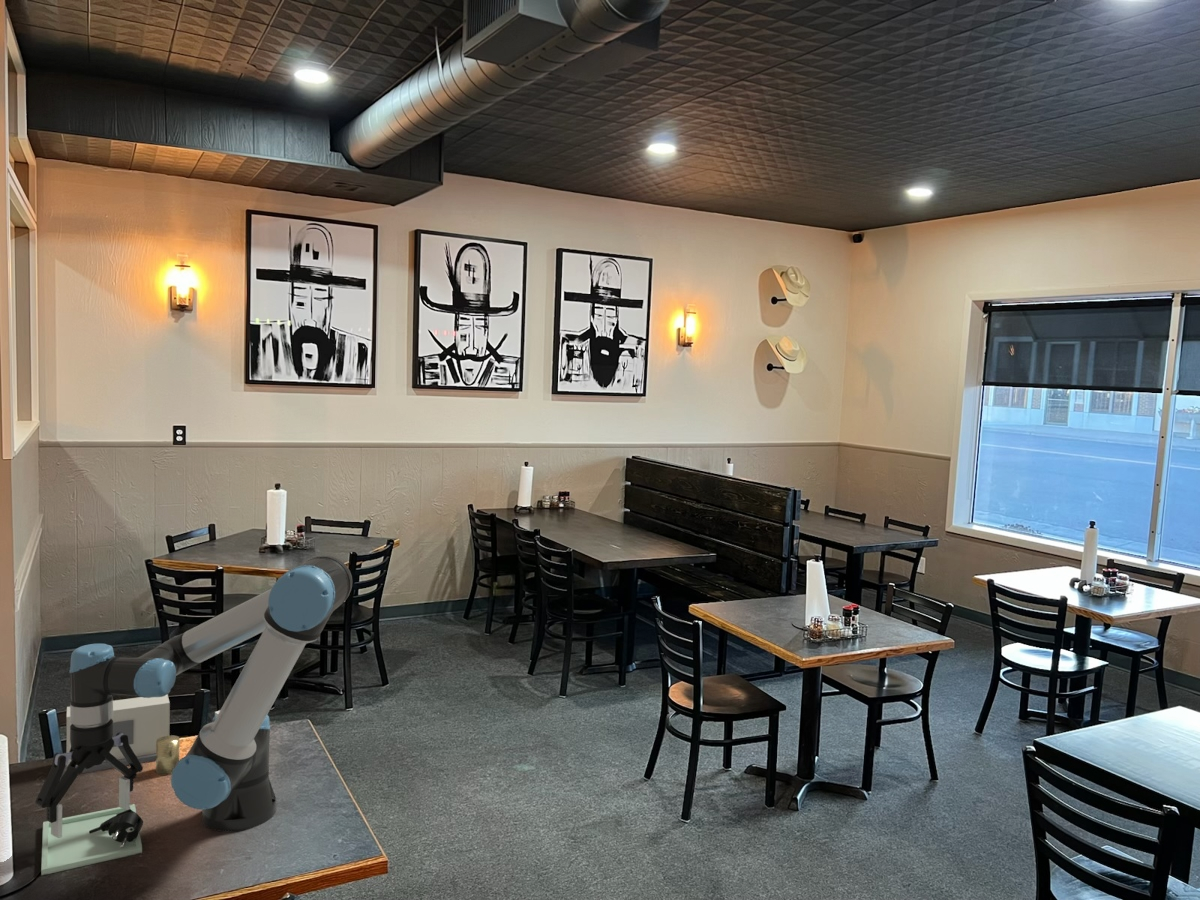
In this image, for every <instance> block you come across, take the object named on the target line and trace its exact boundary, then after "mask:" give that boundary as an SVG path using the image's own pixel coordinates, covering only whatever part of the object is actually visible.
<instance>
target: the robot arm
mask: <svg viewBox="0 0 1200 900" xmlns="http://www.w3.org/2000/svg"><path fill="white" fill-rule="evenodd" d="M275 581H276V582H275V583H274V584H273V586H272V587H271V588H270V589H268V590H266V591H264V592H262V593H260V594H258V595H256V596H254V597H252V598H250V599H248V600H246V601H244V602H242V603H240V604H238V605H236V606H234V607H232V608H230V609H228V610H225V611H224V612H222V613H220V614H218V615H216V616H214V617H212V618H210V619H208V620H206V621H204V622H202V623H200V624H199V625H197V626H194V627H192V628H190V629H188V630H186V631H185V632H183V633H180V634H178V635H175V636H172V637H171V638H169V639H166V640H165V641H164V642H163V643H161V644H159V645H158V646H156V647H154V648H152V649H150V650H149V651H147V652H145V653H144V654H142V655H140V656H138V657H121V656H115V652H114V648H113V646H112V645H110V644H106V643H90V644H89V643H88V644H85V645H81V646H79V647H77V648H75V649H74V650H73V651H72V653H71V655H70V667H69V668H70V669H69V672H68V673H69V679H70V681H69V682H70V684H69V685H70V700H69V701H70V703H69V707H70V722H71V723H72V725H71V726H70V743H71V749H70V751H69V753H67V752H64V753H59V752H56V753H54V754H53V755H52V765H51V767H50V770H49V771H48V774H47V776H46V778H45V780H44V783H43V784H42V787H41V789H40V791H39V793H38V795H37V797H36V799H35V805H36V806H39V807H40V808H42V809H45V808H46V821H49V822H50V823H51V834H52V835H53V836H55V837H57V838H60V837H62V818H63V804H61V803H60V802H61V801H62V799H63V798H64V796H65V795H66V793H67V792H68V790H69V789H70V787H71V786H72V785H73V783H74V782H75V781H76V778H78V776H79V775H81V774H83V773H82V771H83V770H84V769H89V768H91V767H93V766H94V765H100V764H102V762H103V761H104V760H105V761H106V762H108V763H109V764H110V765H112V766H113V767H114V768H113V769H115V770H117V771H118V772H119V773H121V774H122V775H121V776H118V807H120V808H122V809H124V810H129V809H130V805H131V804H130V803H131V801H130V800H131V797H130V796H131V792H133V791H134V780H135V779H136V778H137V776H138V775H137V773H141V772H142V771H143V769H144V768H143V767H144V766H143V765H142V763H140V762H139V760H138V759H137V757H136V755H135V754H134V752H133V750H132V749H131V747H130V745H129V742H128V736H127V735H125V734H122V733H120V732H119V733H117V734H116V736H115V737H113V738H112V736H113V720H112V719H111V718H112V717H113V701H114V696H120V697H121V696H122V697H135V698H138V697H143V698H151V697H163V696H165V695H167V694H168V695H169V694H170V692H171V689H172V688H173V687H174V686H175V682H176V679H177V677H176V676H178V675H180V674H182V673H183V672H185V671H187V670H189V669H191V668H193V667H195V666H197V665H199V664H200V663H203V662H204V661H207V660H208V659H211V658H213V657H215V656H217V655H218V654H221V653H223V652H225V651H227V650H229V649H231V648H233V647H236V646H237V645H239V644H241V643H243V642H245V641H247V640H249V639H251V638H253V637H255V636H257V635H259V634H261V635H260V637H259V639H258V641H257V643H256V644H255V646H254V648H253V650H252V651H251V653H250V656H249V657H248V659H247V661H246V662H245V664H244V667H243V668H242V670H241V671H240V674H239V676H238V677H237V679H236V681H235V683H234V685H233V686H232V687H231V690H230V692H229V694H228V696H227V698H226V699H225V701H224V703H223V705H222V707H221V708H220V709H219V710H220V712H219V714H217V715H216V716H215V715H214V716H213V718H212V722H209V723H207V724H205V725H203V726H202V728H201V729H200V731H199V733H198V734H197V736H196V738H195V740H194V742H193V743H192V745H191V747H190V749H189V751H188V752H187V754H186V755H185V756H183V757H182V758H179V761H178V763H177V765H176V766H175V767H174V769H173V771H172V774H170V784H171V788H172V790H173V791H174V795H175V796H176V798H177V799H178V800H179V801H180V802H181V803H182V804H184V805H185V806H187V807H189V808H192V809H196V810H202V813H201V815H202V816H201V817H202V818H201V819H202V823H203V825H204V826H205V827H207V828H208V829H210V830H213V831H218V832H238V831H245V830H249V829H252V828H256V827H258V826H261V825H263V824H265V823H267V822H268V821H270V820H271V819H272V818H273V817H274V815H275V814H276V813H277V798H276V795H275V794H276V793H275V791H274V789H273V786H272V782H271V780H270V777H269V775H270V771H269V769H270V739H271V738H270V737H271V735H270V734H271V726H270V716H269V712H270V711H271V708H272V706H273V705H274V704H275V701H276V700H277V697H278V695H279V694H280V693H281V690H282V689H283V687H284V685H285V683H286V681H287V679H288V678H289V676H290V674H291V672H292V670H293V668H294V666H295V665H296V663H297V661H298V659H299V657H300V656H301V654H302V652H303V650H304V649H305V646H306V645H307V644H309V643H313V642H316V641H317V640H318V639H319V637H320V635H321V633H322V632H323V630H324V628H325V627H326V624H327V622H328V621H329V619H330V617H331V615H332V614H333V612H335V610H337V609H338V608H339V607H340V606H341V605H342V604H343V603H345V602H346V600H347V599H348V597H349V596H350V593H351V591H352V587H353V575H352V573H351V570H350V569H349V567H348V566H347V565H346V563H345V562H344V561H342V560H340V559H339V558H337V557H335V556H333V555H332V556H331V555H318V556H315V557H312V558H311V559H308V560H307V561H305V562H303V563H301V564H300V565H299V566H295V567H293V568H292V569H288V571H286V572H285V573H283V574H282V575H281V577H279V578H278V579H277V580H275ZM114 744H115V745H117V746H118V748H119V749H120V751H121V752H122V754H123V756H124V757H125V759H126V761H127V762H128V764H129V765H128V766H129V767H128V766H125V765H124V764H123V763H121V762H120V761H119V760H118V759H116V757H114V756H113V755H112V754H111V753H109V752H110V751H111V749H112V747H113V746H114ZM69 759H71V760H72V761H71V762H70V763H69V765H68V766H67V770H66V772H65V773H64V775H63V776H62V773H63V771H64V769H65V765H67V764H68V760H69ZM76 765H78V767H77V768H75V766H76Z"/></svg>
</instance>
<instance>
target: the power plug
mask: <svg viewBox="0 0 1200 900" xmlns="http://www.w3.org/2000/svg"><path fill="white" fill-rule="evenodd" d="M143 825H144V820H143V819H142V817H141V816H140V815H139V814H138V813H137V812H136V813H135V812H134V811H132V810H131V809H129V810H126V811H124V812H121V813H118V814H117V815H116V816H114V817H112V818H110V819H109V820H107V821H105V822H103V823H102V824H101V825H100V827H98V828H95V829H92V830H90V831H89V833H90V834H91V833H94V832H96V831H99V830H102V831H108V833H109V836H111V835H113V837H112V839H113V840H115V841H118V842H122V843H121V845H120V847H121V848H123V847H124V846H125V844H126V842H127V841H128V842H131V841H133V840H134V839H135V838H137V836H138V834H139V832H140V831H141V829H142V827H143Z"/></svg>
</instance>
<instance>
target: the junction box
mask: <svg viewBox="0 0 1200 900" xmlns="http://www.w3.org/2000/svg"><path fill="white" fill-rule="evenodd" d="M170 702H171V701H170V699H169V693H168V694H167V695H165V696H163V697H151V698H143V697H132V698H125V699H115V700H113V717H112V718H111V719H112V720H113V736H112V738H113V737H115V736H116V734H117V733H119V732H120V733H122V734H125V735H127V736H128V742H129V745H130V747H131V749H132V750H133V752H134V754H135V755H136V757H137V759H138V760H139V762H140V763H141V764H145V763H150V762H151V763H152V762H156V741H157V739H159V738H161V737H164V736H170V724H171V723H170V718H171V717H170V714H171V712H170V711H171V710H170V709H171V708H170V707H171V703H170ZM71 725H72V723H71V722H70V706H66V753H69V751H70V749H71V743H70V726H71ZM109 753H111V754H112V755H113V756H114V757H116V759H118V760H119V761H120V762H121V763H123V764H124V765H125V766H126V767H128V766H130V765H129V764H128V762H127V761H126V759H125V757H124V756H123V754H122V752H121V751H120V749H119V748H118V746H117V745H115V744H114V746H113V747H112V749H111V751H110V752H109ZM71 761H72V760H71V759H69V760H68V764H67V765H65V769H64V771H63V773H62V776H63V775H64V773H65V772H66V770H67V766H68V765H69V763H70V762H71ZM77 767H78V765H76V766H75V768H77ZM109 769H115V768H114V767H113V766H112V765H110V764H109V763H108V762H106V761H105V760H104V761H103V762H102V764H100V765H94V766H93V767H91V768H89V769H84V770H83V771H82V773H81V774H87V773H91V772H99V771H104V770H109ZM62 776H61V777H62Z"/></svg>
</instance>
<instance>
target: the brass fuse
mask: <svg viewBox="0 0 1200 900" xmlns="http://www.w3.org/2000/svg"><path fill="white" fill-rule="evenodd" d="M178 761H180V736H178V735H172V734H171V735H170V734H169V736H164V737H161V738H159V739H157V741H156V761H155V773H156V775H158V776H171V775H172V771H173V769H174V767H175V766H176V765H177V763H178Z"/></svg>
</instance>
